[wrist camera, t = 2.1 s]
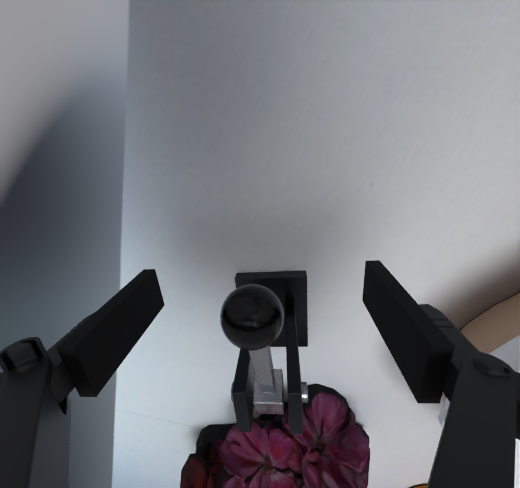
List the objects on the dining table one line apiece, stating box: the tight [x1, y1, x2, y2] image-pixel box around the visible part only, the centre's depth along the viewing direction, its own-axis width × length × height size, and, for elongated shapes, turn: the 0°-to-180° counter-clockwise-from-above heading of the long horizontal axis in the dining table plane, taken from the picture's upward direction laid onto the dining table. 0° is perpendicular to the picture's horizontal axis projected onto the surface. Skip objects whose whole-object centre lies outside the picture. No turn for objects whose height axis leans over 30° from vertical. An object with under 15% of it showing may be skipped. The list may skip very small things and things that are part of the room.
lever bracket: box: [231, 271, 308, 434], centre depth 24 cm, size 10×8×13 cm
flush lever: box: [220, 284, 284, 414], centre depth 16 cm, size 14×3×3 cm, turn 5°
